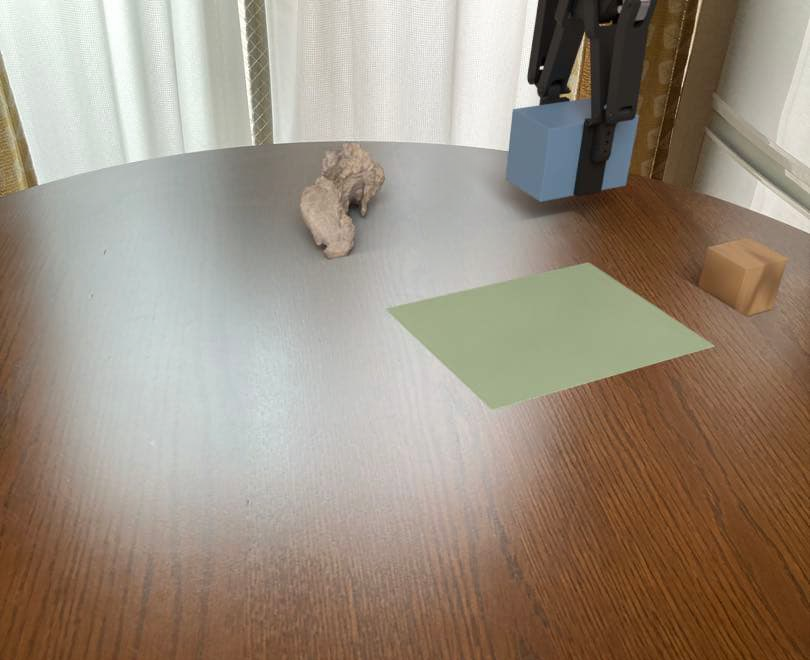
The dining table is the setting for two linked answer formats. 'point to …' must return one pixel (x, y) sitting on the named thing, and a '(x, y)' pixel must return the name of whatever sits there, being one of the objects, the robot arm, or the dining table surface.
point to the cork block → (743, 275)
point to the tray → (544, 333)
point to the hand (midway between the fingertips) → (566, 180)
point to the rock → (340, 196)
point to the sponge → (560, 149)
